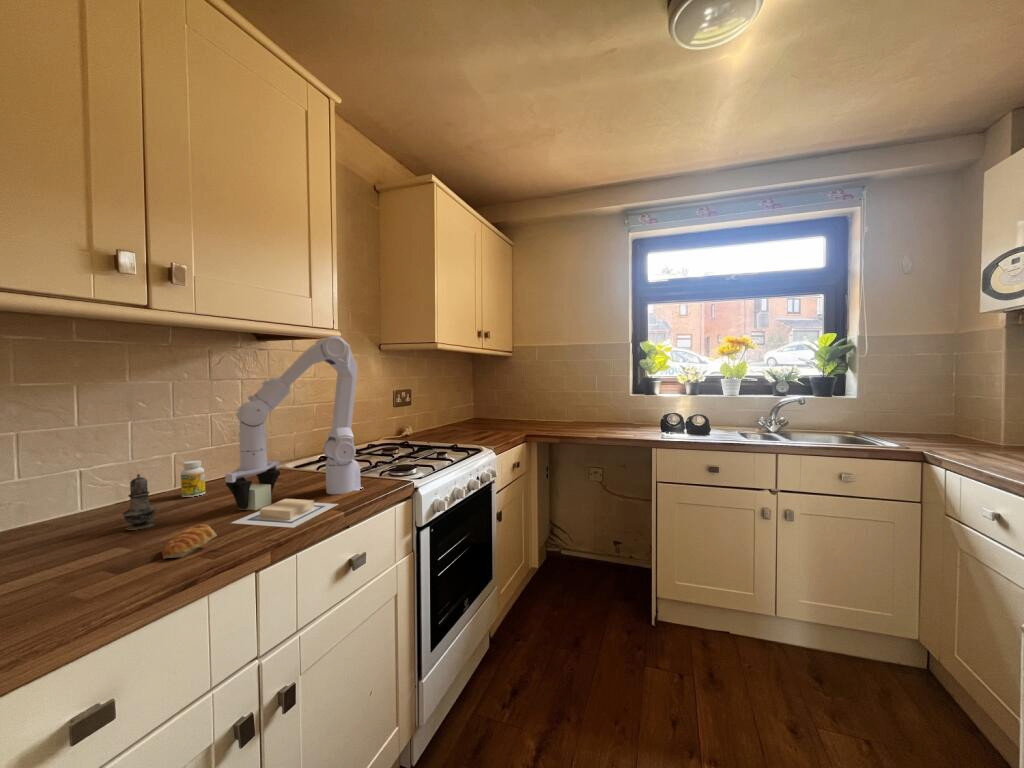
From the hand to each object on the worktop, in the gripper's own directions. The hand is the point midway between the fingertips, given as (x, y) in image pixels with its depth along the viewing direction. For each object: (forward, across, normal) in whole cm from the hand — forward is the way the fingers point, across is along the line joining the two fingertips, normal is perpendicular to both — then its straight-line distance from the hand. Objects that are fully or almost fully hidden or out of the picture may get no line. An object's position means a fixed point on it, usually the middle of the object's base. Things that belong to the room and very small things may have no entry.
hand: (254, 503), depth 103 cm
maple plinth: (+1, +3, +12) cm, 12 cm away
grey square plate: (+2, +3, +12) cm, 12 cm away
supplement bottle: (+2, -8, -28) cm, 29 cm away
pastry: (+2, +22, +6) cm, 22 cm away
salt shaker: (+2, +14, -17) cm, 22 cm away
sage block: (+2, 0, 0) cm, 2 cm away
